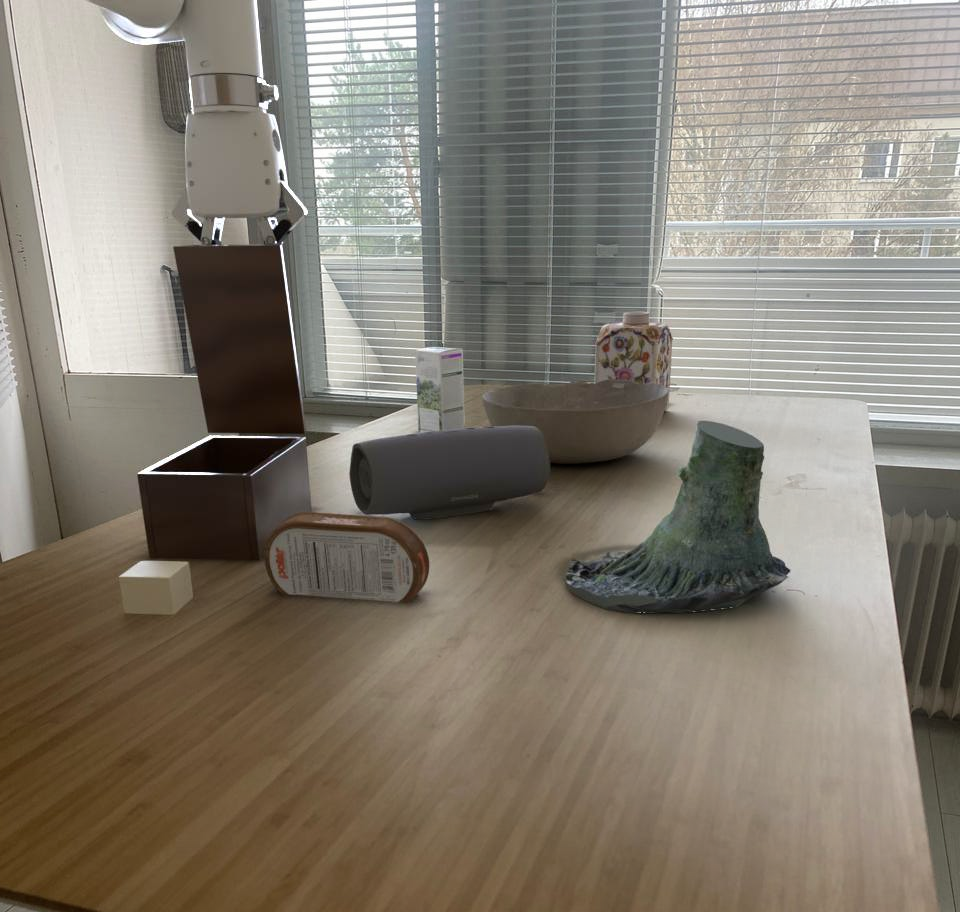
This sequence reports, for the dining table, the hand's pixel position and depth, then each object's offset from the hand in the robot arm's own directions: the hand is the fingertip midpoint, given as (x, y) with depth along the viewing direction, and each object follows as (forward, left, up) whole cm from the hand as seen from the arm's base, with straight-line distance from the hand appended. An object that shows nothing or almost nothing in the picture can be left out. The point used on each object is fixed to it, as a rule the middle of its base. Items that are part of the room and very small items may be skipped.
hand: (246, 283), depth 108 cm
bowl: (+36, +37, -27) cm, 58 cm away
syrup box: (+14, +49, -27) cm, 57 cm away
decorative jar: (+46, +76, -27) cm, 93 cm away
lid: (0, -3, -6) cm, 7 cm away
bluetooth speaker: (+22, +3, -27) cm, 35 cm away
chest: (0, -11, -26) cm, 29 cm away
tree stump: (+47, -22, -27) cm, 58 cm away
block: (+1, -34, -26) cm, 43 cm away
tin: (+17, -30, -27) cm, 44 cm away
